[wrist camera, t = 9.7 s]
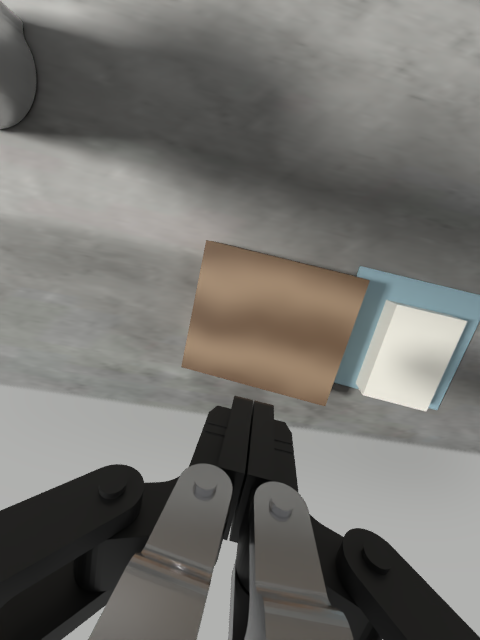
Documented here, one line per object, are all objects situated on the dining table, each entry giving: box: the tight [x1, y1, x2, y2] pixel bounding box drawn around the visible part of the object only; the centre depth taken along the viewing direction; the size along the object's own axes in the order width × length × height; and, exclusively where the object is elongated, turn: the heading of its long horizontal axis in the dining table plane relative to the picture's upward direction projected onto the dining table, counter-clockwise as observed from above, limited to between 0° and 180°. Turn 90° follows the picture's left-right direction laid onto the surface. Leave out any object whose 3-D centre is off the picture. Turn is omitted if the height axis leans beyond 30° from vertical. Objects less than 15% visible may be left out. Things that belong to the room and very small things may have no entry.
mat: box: [334, 266, 480, 410], centre depth 28 cm, size 12×12×1 cm
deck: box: [182, 240, 370, 406], centre depth 27 cm, size 12×14×4 cm
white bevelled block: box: [356, 300, 467, 411], centre depth 27 cm, size 9×6×2 cm, turn 167°
